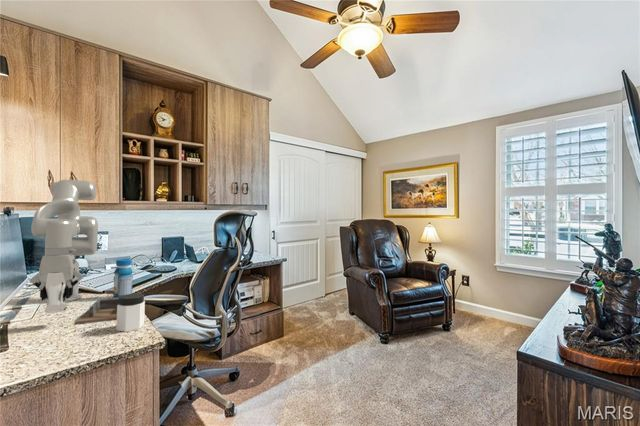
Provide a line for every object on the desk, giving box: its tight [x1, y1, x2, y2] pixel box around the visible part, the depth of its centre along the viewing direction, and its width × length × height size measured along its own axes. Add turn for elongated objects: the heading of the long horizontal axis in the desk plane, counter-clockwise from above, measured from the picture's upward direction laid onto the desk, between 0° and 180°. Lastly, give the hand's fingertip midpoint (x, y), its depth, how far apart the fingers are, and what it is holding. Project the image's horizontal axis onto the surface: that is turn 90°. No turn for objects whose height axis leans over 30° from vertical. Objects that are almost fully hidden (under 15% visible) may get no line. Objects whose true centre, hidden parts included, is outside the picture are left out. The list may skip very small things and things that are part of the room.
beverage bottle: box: [112, 258, 134, 299], centre depth 150 cm, size 8×8×20 cm
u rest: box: [74, 298, 119, 325], centre depth 124 cm, size 20×18×5 cm
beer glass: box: [44, 272, 68, 314], centre depth 109 cm, size 7×7×15 cm
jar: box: [115, 293, 146, 333], centre depth 109 cm, size 9×8×12 cm
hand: (56, 297), depth 109 cm, fingers closed on beer glass, 6 cm apart
